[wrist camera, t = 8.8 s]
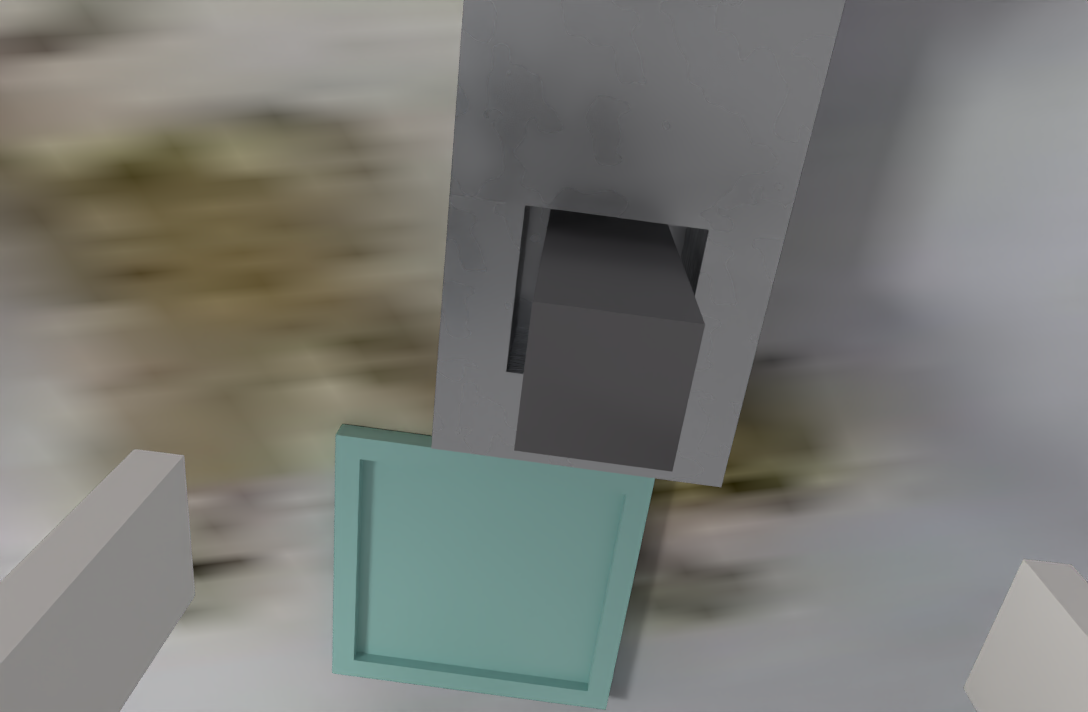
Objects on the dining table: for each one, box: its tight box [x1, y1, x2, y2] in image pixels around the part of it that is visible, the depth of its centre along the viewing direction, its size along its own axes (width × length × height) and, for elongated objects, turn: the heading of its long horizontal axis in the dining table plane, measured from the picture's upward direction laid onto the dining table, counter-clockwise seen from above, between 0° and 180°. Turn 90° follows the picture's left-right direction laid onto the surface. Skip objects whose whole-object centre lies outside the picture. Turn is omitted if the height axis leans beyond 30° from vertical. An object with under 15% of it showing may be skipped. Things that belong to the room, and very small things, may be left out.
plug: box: [514, 209, 705, 472], centre depth 23 cm, size 4×4×10 cm
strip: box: [431, 0, 846, 487], centre depth 21 cm, size 21×24×11 cm
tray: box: [332, 424, 655, 710], centre depth 34 cm, size 13×13×1 cm
